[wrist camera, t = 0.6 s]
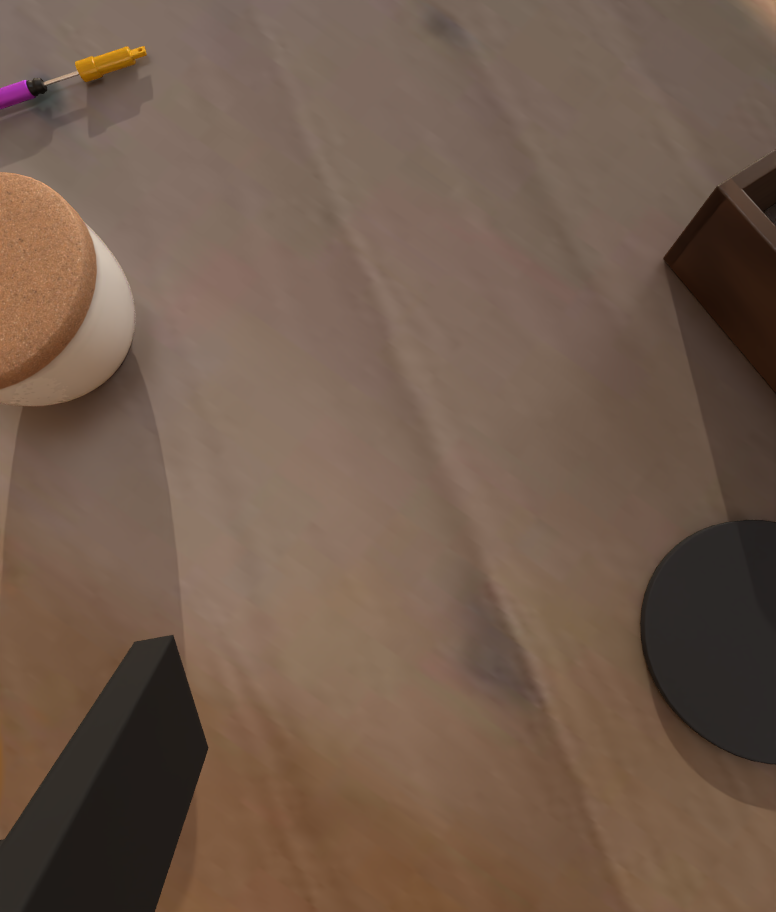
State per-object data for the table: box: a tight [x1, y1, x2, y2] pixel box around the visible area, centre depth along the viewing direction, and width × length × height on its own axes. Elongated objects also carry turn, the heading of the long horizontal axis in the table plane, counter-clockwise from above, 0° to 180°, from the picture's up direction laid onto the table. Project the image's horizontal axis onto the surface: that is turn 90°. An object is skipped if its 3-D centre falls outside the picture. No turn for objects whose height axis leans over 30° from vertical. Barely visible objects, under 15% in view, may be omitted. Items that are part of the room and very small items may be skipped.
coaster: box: [640, 520, 776, 764], centre depth 26 cm, size 11×11×1 cm
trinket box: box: [0, 172, 135, 406], centre depth 28 cm, size 11×11×9 cm
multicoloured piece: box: [0, 46, 147, 109], centre depth 36 cm, size 3×1×16 cm
